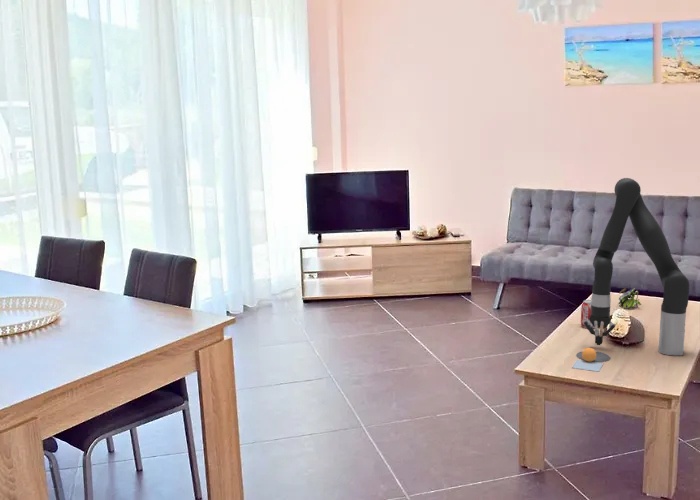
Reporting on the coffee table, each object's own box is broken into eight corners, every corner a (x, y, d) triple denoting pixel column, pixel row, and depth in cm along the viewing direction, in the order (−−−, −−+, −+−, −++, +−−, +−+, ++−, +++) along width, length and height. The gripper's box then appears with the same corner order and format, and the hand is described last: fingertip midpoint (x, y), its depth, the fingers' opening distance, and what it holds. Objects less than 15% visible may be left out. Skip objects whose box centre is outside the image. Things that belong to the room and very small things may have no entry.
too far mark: (603, 363, 286) (603, 363, 286) (599, 371, 277) (599, 371, 277) (577, 360, 291) (577, 359, 291) (571, 368, 282) (571, 367, 282)
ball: (598, 351, 290) (596, 346, 286) (596, 364, 288) (594, 359, 284) (584, 349, 293) (581, 345, 289) (582, 362, 291) (579, 358, 287)
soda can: (597, 329, 330) (599, 303, 328) (581, 328, 331) (582, 303, 329) (595, 325, 337) (597, 299, 335) (579, 324, 338) (581, 299, 336)
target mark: (612, 354, 297) (612, 353, 297) (607, 364, 286) (607, 363, 286) (579, 349, 303) (579, 349, 303) (573, 359, 292) (573, 358, 292)
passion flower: (621, 315, 371) (622, 293, 376) (644, 315, 365) (644, 292, 369) (615, 307, 363) (616, 285, 368) (637, 306, 357) (638, 283, 361)
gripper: (619, 303, 302) (616, 344, 305) (585, 300, 308) (583, 340, 311) (616, 308, 295) (614, 349, 298) (582, 304, 301) (580, 345, 304)
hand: (598, 344), depth 305 cm, fingers closed
